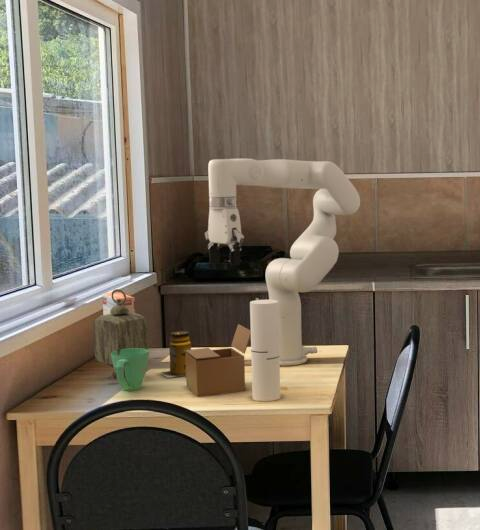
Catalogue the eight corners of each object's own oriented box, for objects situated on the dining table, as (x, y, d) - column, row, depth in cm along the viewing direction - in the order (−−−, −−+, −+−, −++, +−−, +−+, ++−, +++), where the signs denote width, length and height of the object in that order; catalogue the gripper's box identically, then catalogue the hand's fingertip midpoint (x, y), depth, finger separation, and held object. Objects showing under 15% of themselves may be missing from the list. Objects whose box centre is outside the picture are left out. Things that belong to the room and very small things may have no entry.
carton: (232, 381, 246) (231, 345, 245) (245, 390, 236) (244, 353, 235) (186, 386, 240) (185, 350, 239) (197, 396, 230) (196, 358, 229)
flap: (231, 345, 245) (232, 345, 245) (243, 353, 235) (244, 353, 235) (238, 324, 245) (239, 324, 245) (250, 330, 235) (252, 331, 235)
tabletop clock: (149, 376, 252) (145, 289, 249) (121, 383, 245) (117, 293, 242) (120, 369, 261) (117, 285, 258) (93, 375, 254) (88, 289, 251)
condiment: (196, 374, 255) (195, 333, 253) (167, 378, 250) (166, 336, 249) (187, 369, 261) (186, 329, 259) (159, 373, 256) (157, 332, 255)
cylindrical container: (253, 394, 232) (251, 299, 229) (281, 393, 232) (278, 299, 230) (251, 401, 225) (248, 304, 222) (279, 400, 225) (277, 303, 222)
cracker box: (138, 365, 266) (135, 296, 264) (117, 368, 263) (115, 298, 260) (123, 357, 278) (121, 291, 275) (104, 359, 274) (101, 293, 272)
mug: (118, 384, 244) (117, 348, 243) (154, 383, 244) (153, 347, 243) (101, 398, 229) (100, 360, 228) (140, 397, 229) (138, 359, 228)
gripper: (252, 203, 245) (254, 265, 247) (216, 202, 257) (218, 260, 259) (230, 204, 240) (231, 267, 242) (194, 203, 252) (196, 263, 254)
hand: (224, 264), depth 250 cm, fingers open, 9 cm apart
